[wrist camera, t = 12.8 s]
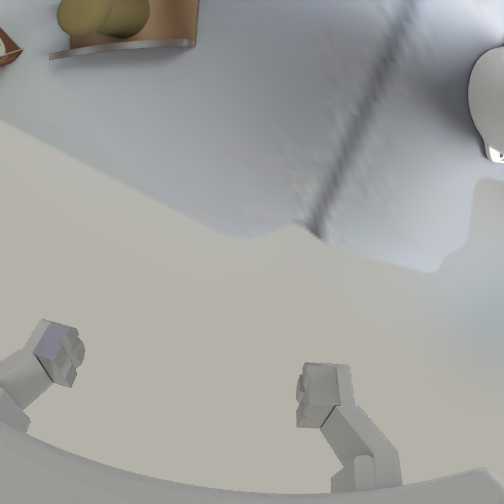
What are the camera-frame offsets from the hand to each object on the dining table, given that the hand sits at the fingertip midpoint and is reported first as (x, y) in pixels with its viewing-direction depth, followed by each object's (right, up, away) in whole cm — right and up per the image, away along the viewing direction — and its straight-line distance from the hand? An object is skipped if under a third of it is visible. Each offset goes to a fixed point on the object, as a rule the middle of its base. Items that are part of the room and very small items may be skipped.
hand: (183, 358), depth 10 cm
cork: (-12, +30, +16) cm, 36 cm away
